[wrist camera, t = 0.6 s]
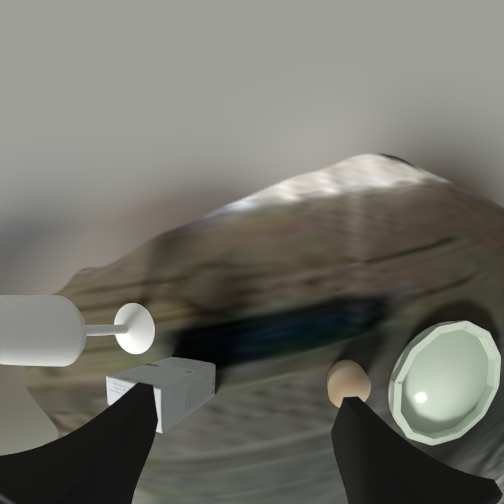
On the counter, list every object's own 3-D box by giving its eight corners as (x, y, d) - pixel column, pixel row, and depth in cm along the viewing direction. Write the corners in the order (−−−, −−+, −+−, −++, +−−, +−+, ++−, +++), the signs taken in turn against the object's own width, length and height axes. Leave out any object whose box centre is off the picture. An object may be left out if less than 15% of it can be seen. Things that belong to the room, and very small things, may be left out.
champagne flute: (138, 292, 36) (-35, 261, 13) (164, 337, 34) (-19, 351, 11) (106, 319, 36) (-54, 309, 13) (129, 363, 34) (-37, 386, 11)
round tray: (503, 383, 23) (513, 386, 20) (417, 456, 24) (423, 465, 21) (460, 296, 27) (470, 294, 24) (365, 373, 28) (369, 379, 25)
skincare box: (216, 362, 32) (164, 385, 20) (215, 398, 31) (165, 435, 19) (168, 355, 33) (104, 371, 22) (168, 390, 32) (106, 417, 21)
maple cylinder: (370, 380, 28) (378, 392, 23) (338, 400, 28) (341, 416, 23) (351, 352, 29) (357, 360, 24) (319, 372, 29) (319, 384, 24)
